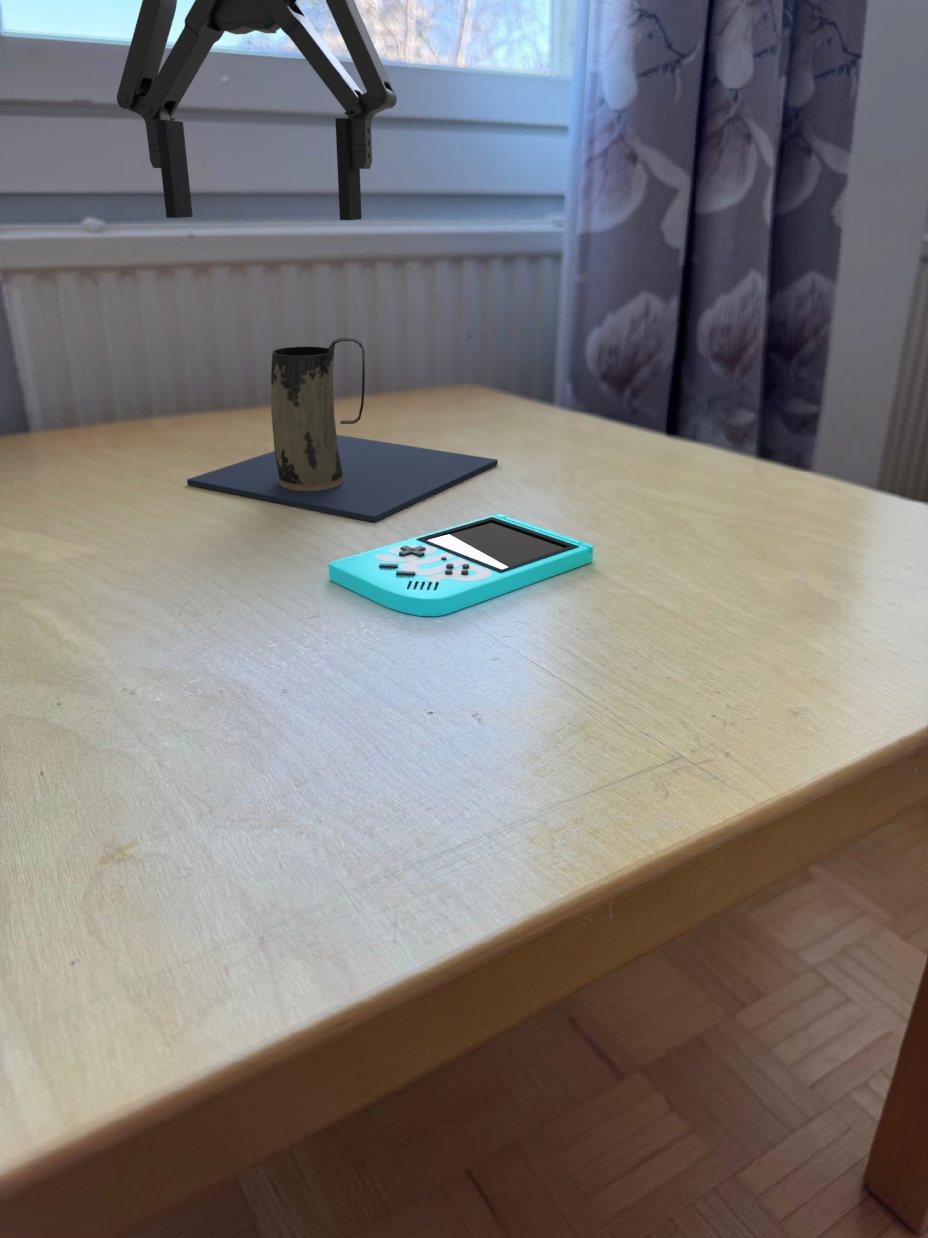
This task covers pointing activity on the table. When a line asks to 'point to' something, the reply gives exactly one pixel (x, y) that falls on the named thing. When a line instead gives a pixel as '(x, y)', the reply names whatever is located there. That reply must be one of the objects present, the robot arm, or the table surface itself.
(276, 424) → the mug
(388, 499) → the mat
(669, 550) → the table surface
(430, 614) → the handheld game console
